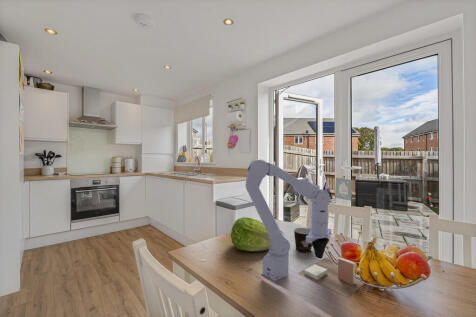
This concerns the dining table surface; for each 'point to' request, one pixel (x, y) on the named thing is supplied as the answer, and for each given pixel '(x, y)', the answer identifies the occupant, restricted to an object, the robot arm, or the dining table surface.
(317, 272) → the tile
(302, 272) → the board
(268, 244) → the lettuce
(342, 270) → the tile
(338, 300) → the dining table surface
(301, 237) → the coffee mug
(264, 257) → the robot arm
